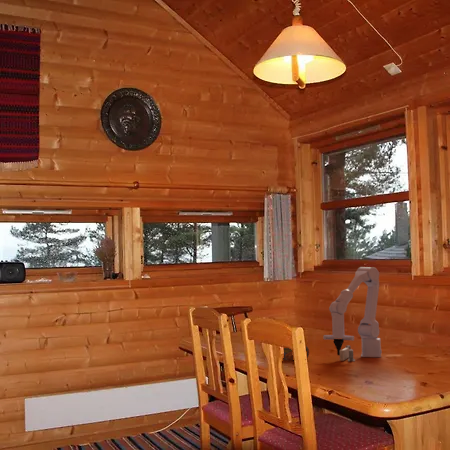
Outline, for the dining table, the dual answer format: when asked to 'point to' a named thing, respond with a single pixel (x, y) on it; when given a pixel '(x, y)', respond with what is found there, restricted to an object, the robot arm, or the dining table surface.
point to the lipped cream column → (344, 354)
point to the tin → (289, 355)
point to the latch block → (351, 355)
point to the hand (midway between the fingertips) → (339, 355)
